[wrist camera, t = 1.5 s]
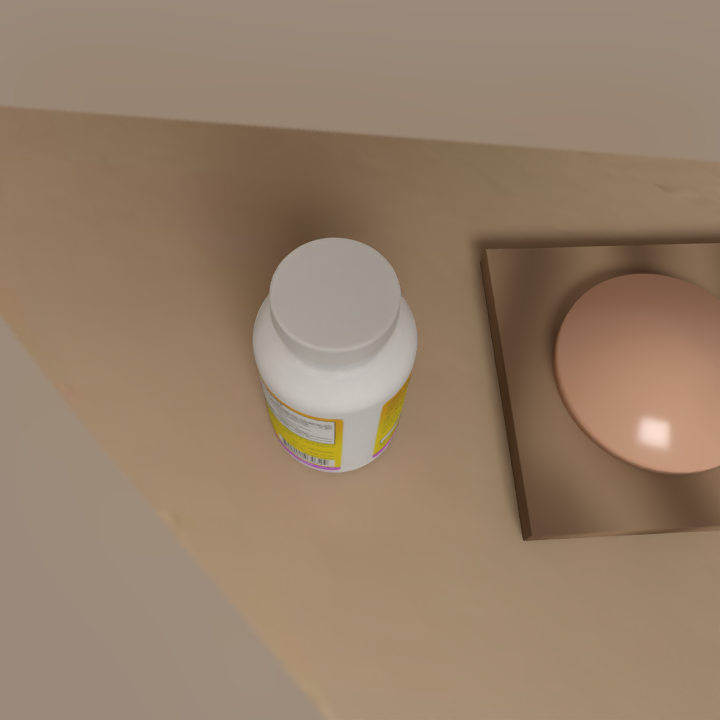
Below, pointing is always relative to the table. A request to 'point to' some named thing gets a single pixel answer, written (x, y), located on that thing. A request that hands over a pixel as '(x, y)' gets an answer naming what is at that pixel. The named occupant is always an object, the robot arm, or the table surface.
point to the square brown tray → (548, 414)
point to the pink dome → (644, 372)
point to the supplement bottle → (334, 353)
